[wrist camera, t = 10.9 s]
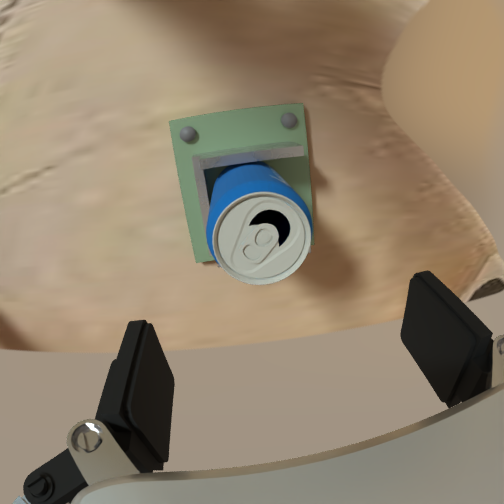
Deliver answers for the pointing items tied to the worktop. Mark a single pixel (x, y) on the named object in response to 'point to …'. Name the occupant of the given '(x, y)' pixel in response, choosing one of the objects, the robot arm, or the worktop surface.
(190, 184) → the deck plate
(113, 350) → the worktop surface
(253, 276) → the beverage can
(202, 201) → the bracket
